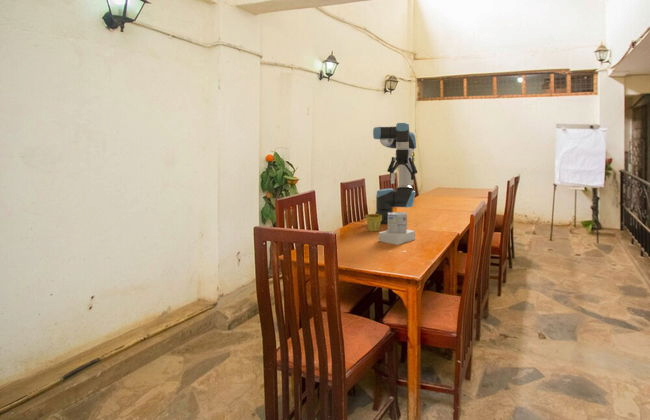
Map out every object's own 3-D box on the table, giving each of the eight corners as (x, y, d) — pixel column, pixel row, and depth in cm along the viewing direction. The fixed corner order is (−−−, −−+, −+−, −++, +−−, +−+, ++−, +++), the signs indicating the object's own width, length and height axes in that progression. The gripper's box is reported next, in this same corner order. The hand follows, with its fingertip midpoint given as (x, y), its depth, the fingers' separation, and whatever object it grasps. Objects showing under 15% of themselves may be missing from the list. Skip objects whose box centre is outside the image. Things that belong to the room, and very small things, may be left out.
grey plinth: (378, 241, 229) (378, 232, 228) (396, 236, 241) (396, 227, 240) (397, 244, 220) (397, 235, 219) (415, 239, 232) (415, 230, 231)
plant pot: (377, 232, 251) (377, 217, 249) (362, 231, 256) (362, 216, 255) (384, 229, 259) (384, 214, 258) (369, 228, 265) (369, 213, 263)
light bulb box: (405, 230, 232) (406, 212, 231) (407, 233, 226) (407, 214, 224) (387, 230, 233) (387, 212, 232) (387, 232, 227) (388, 214, 225)
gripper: (381, 149, 246) (381, 183, 250) (416, 149, 229) (415, 186, 233) (389, 148, 251) (389, 182, 255) (423, 149, 234) (422, 185, 238)
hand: (401, 184), depth 244 cm, fingers open, 13 cm apart
